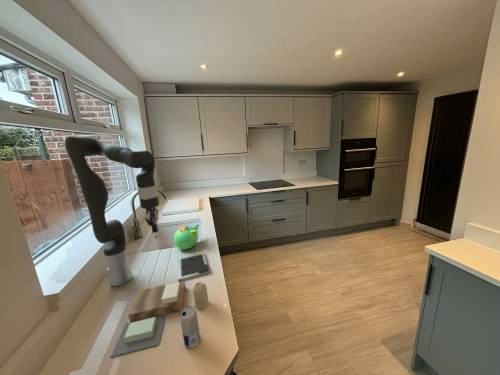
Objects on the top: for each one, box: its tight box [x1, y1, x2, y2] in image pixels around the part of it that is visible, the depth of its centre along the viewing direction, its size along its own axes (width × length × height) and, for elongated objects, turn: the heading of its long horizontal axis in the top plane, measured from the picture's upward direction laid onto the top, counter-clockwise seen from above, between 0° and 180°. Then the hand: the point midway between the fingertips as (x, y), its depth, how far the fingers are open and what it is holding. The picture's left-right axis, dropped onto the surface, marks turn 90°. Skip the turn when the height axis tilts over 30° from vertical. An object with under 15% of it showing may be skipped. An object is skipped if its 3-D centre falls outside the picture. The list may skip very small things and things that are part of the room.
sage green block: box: [124, 317, 156, 343], centre depth 73 cm, size 9×6×2 cm, turn 103°
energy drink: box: [179, 306, 201, 349], centre depth 68 cm, size 5×5×12 cm
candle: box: [192, 282, 209, 311], centre depth 84 cm, size 6×6×10 cm
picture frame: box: [177, 252, 210, 282], centre depth 113 cm, size 16×3×21 cm
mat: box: [110, 314, 167, 358], centre depth 73 cm, size 15×13×1 cm
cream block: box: [162, 281, 181, 304], centre depth 86 cm, size 9×6×2 cm, turn 13°
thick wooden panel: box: [127, 280, 187, 323], centre depth 87 cm, size 20×14×4 cm
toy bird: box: [173, 223, 200, 250], centre depth 135 cm, size 18×17×15 cm
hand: (155, 231), depth 92 cm, fingers closed
